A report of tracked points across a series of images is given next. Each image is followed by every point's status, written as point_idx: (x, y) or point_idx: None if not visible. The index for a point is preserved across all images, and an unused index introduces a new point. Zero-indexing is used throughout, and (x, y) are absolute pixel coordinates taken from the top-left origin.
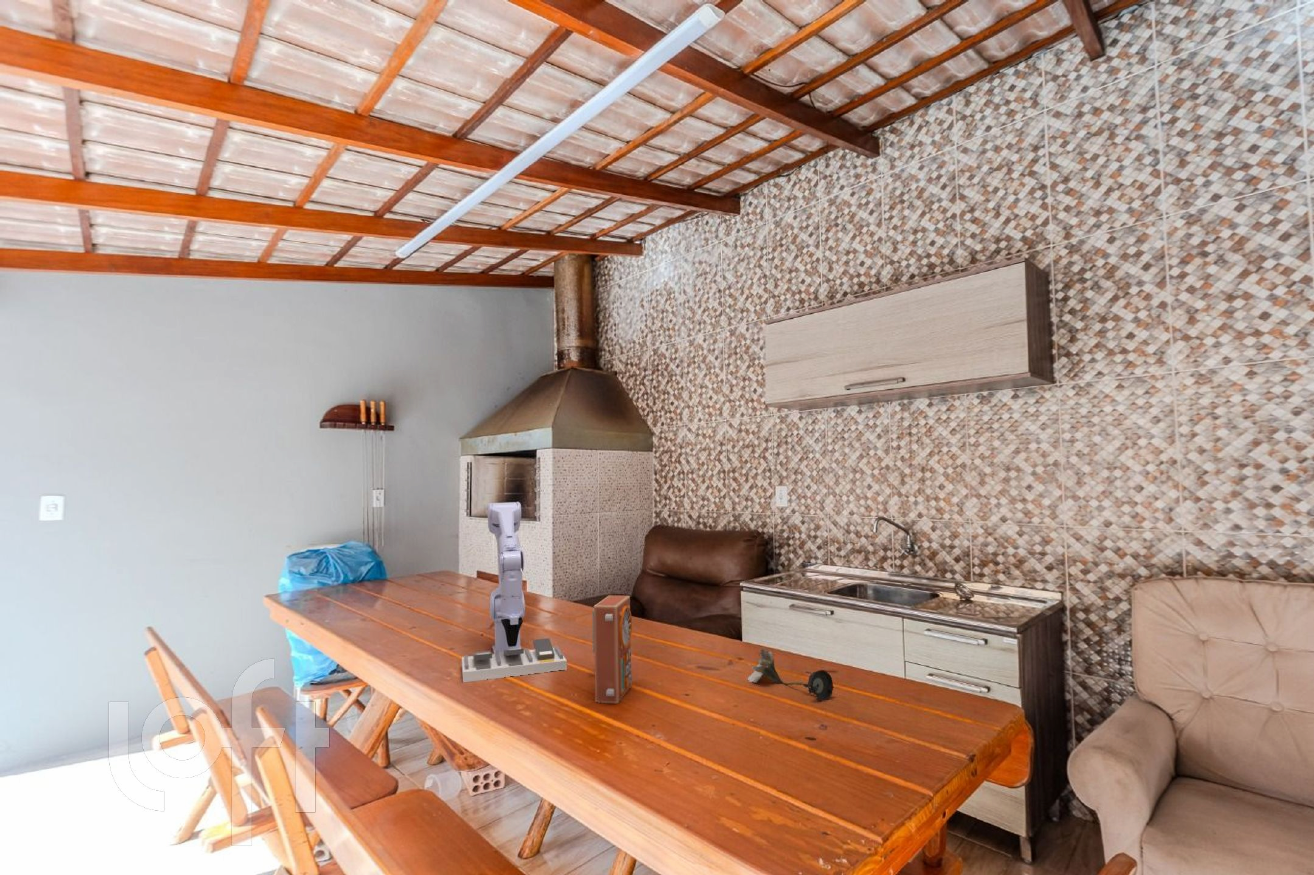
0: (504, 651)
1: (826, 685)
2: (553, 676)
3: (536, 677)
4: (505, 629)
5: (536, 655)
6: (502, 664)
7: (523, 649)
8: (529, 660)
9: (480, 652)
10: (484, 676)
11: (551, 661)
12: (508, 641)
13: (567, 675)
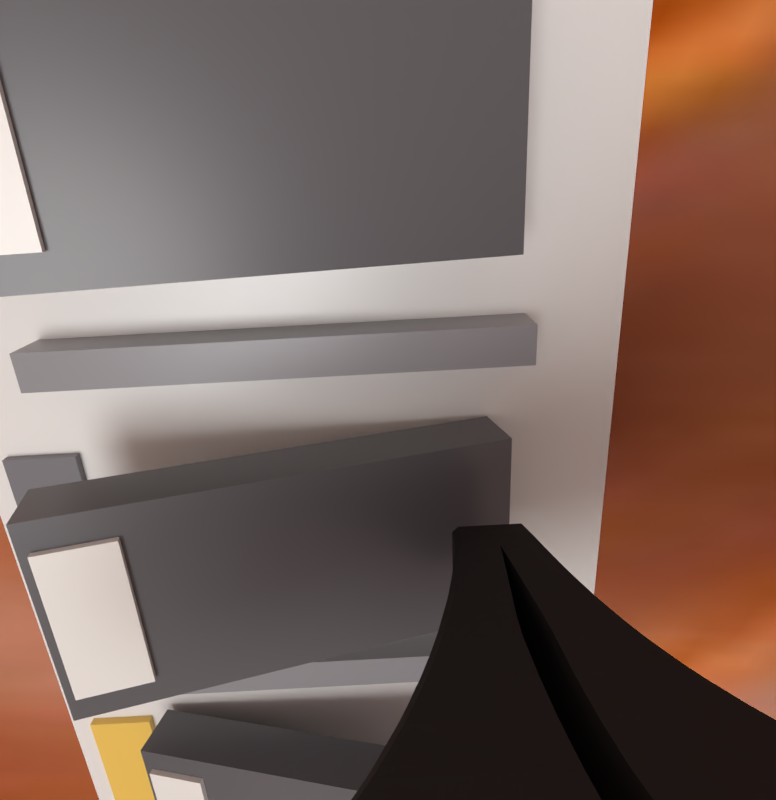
0: (366, 456)
1: None
2: (17, 716)
3: (5, 615)
4: (387, 743)
5: (246, 723)
6: (98, 392)
7: (78, 710)
8: None
9: (360, 88)
10: None
11: (116, 790)
12: (452, 577)
13: (29, 789)
